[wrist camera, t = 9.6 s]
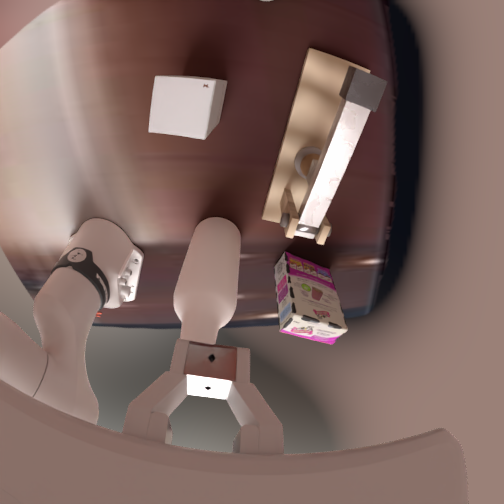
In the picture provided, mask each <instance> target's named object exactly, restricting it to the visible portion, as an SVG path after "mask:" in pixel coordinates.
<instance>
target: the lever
mask: <svg viewBox="0 0 504 504" xmlns="http://www.w3.org/2000/svg"><path fill="white" fill-rule="evenodd" d="M386 84H387V81H385V80H383V79H380V78H378V77H376V76H374V75H372V74H369V73H367V72H365V71H363V70H360V69H358V68H355V67H352V66H349V67H348V70H347V73H346V76H345V79H344V82H343V84H342V87H341V90H340V93H339V96H341V97H342V99H341V102H340V104H339V107H338V110H337V113H336V115H335V118H334V121H333V123H332V126H331V129H330V131H329V134H328V137H327V139H326V142H325V145H324V147H323V150H322V153H321V155H320V158H319V160H314V159H313V160H312V163H311V166H310V168H309V171H308V174H307V176H306V179H307V183H308V189H307V191H306V194H305V196H304V199H303V201H302V204H301V206H300V209H299V211H298V216H299V222H298V225H297V228H296V231H295V234H294V235H296V236H301V237H306V238H310V239H313V238H314V236H315V235H317V234H318V232H319V230H320V224H321V222H322V220H323V218H324V215H325V213H326V211H327V209H328V207H329V205H330V203H331V200H332V198H333V196H334V194H335V192H336V190H337V187H338V185H339V183H340V181H341V179H342V176H343V174H344V172H345V170H346V167H347V165H348V163H349V160H350V158H351V156H352V153H353V151H354V149H355V146H356V144H357V142H358V139H359V137H360V135H361V132H362V130H363V127H364V125H365V122H366V120H367V118H368V115H369V113H370V110H372V111H374V112H376V110H377V107H378V105H379V102H380V100H381V97H382V95H383V92H384V90H385V87H386Z"/></svg>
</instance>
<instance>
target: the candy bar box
mask: <svg viewBox="0 0 504 504" xmlns="http://www.w3.org/2000/svg"><path fill="white" fill-rule="evenodd" d="M274 275H275V286H276V296H277V309H278V320H279V331H280V332H283V333H287V334H291V335H295V336H299V337H303V338H307V339H311V340H315V341H319V342H323V343H327V344H333V343H334V342H336V341H337V340H338V338H340V337H341V336H342V335H343V334H344V333H345V332H346V331H347V330H348V328H347V325H346V321H345V318H344V315H343V311H342V308H341V305H340V301H339V298H338V295H337V292H336V289H335V285H334V282H333V279H332V276H331V273H330V270H329V269H327V268H325V267H323V266H320V265H317V264H315V263H313V262H310V261H307V260H305V259H303V258H300V257H298V256H295V255H293V254H290V253H288V252H284V253H283V255H282V256H281V258H280V259H279V261H278V262H277V263H276V265H275V267H274Z"/></svg>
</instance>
